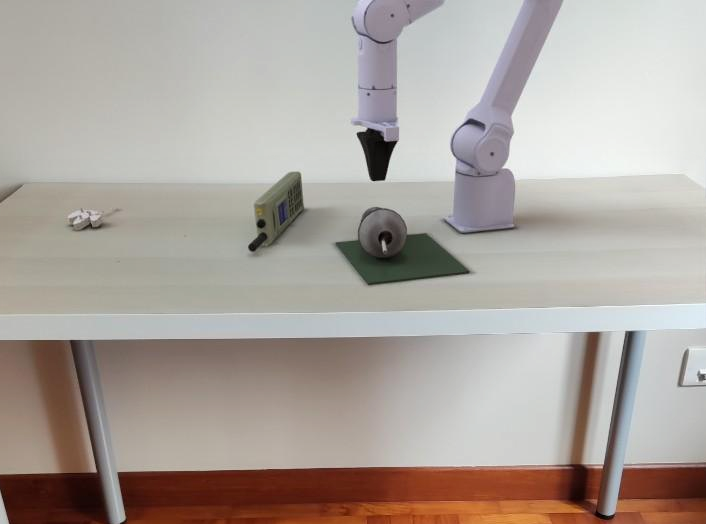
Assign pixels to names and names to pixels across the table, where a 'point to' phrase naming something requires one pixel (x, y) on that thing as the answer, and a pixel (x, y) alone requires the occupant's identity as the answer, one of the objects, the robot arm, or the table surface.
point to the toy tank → (85, 218)
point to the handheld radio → (277, 209)
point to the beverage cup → (382, 232)
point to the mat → (403, 261)
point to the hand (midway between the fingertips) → (377, 179)
